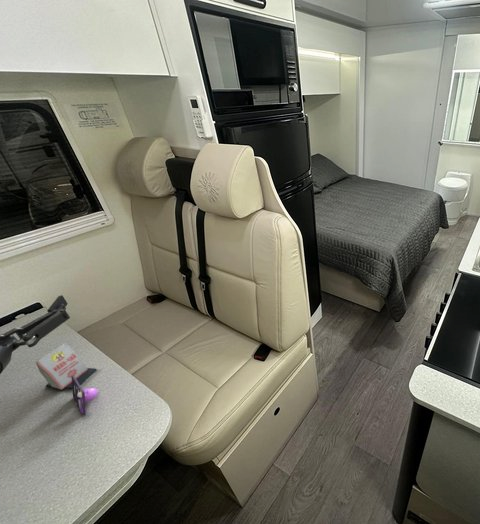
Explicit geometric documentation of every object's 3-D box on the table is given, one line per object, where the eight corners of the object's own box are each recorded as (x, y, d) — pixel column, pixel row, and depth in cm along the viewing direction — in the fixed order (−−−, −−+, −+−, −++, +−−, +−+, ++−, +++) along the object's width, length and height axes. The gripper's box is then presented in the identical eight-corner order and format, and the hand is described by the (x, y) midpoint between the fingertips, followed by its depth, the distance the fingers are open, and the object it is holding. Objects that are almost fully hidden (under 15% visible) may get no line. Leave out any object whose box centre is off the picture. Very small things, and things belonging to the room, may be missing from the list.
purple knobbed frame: (67, 376, 71) (78, 394, 67) (94, 368, 76) (106, 384, 71) (68, 398, 73) (79, 418, 68) (95, 389, 77) (106, 407, 73)
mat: (46, 386, 77) (45, 385, 77) (69, 367, 82) (68, 366, 82) (75, 389, 76) (74, 387, 76) (96, 369, 81) (96, 368, 81)
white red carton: (52, 386, 76) (30, 360, 71) (78, 367, 82) (60, 341, 77) (61, 389, 75) (40, 363, 70) (88, 369, 81) (70, 344, 76)
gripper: (-109, 408, 51) (-30, 333, 68) (65, 361, 59) (96, 305, 76) (-146, 381, 47) (-53, 308, 64) (45, 335, 56) (83, 282, 73)
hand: (28, 306), depth 70 cm, fingers open, 13 cm apart
